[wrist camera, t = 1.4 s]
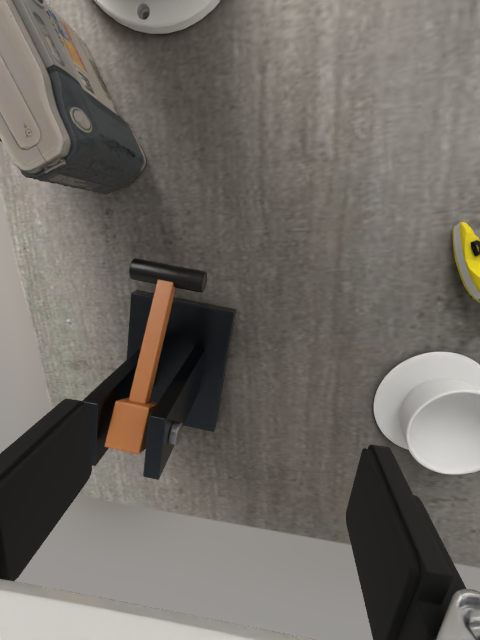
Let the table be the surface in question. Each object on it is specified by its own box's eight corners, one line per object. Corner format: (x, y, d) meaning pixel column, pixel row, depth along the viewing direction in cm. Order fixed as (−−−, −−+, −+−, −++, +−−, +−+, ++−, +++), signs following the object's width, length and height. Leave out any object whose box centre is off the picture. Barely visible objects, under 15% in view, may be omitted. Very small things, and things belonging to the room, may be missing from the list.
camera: (157, 175, 26) (87, 147, 16) (96, 204, 27) (-1, 194, 18) (88, 15, 23) (-42, -129, 14) (25, 54, 24) (-136, -53, 15)
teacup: (352, 383, 29) (366, 412, 25) (463, 328, 27) (500, 350, 22) (402, 465, 31) (424, 506, 27) (510, 420, 29) (554, 457, 24)
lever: (141, 264, 24) (129, 252, 21) (208, 276, 23) (204, 266, 21) (99, 433, 22) (81, 442, 20) (171, 449, 22) (161, 460, 19)
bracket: (136, 289, 29) (47, 332, 18) (236, 309, 28) (209, 365, 17) (128, 405, 32) (49, 503, 21) (216, 424, 32) (183, 534, 21)
